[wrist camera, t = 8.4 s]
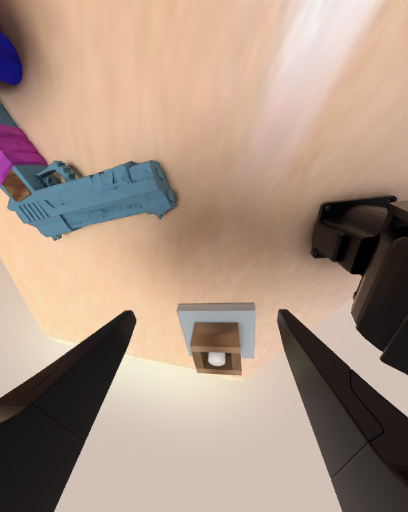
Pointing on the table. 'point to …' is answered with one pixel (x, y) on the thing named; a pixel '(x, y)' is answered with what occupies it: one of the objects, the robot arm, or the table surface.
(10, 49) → the toy
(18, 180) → the toy gun
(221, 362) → the peg base
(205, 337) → the collar
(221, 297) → the table surface
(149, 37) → the table surface
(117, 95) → the table surface
